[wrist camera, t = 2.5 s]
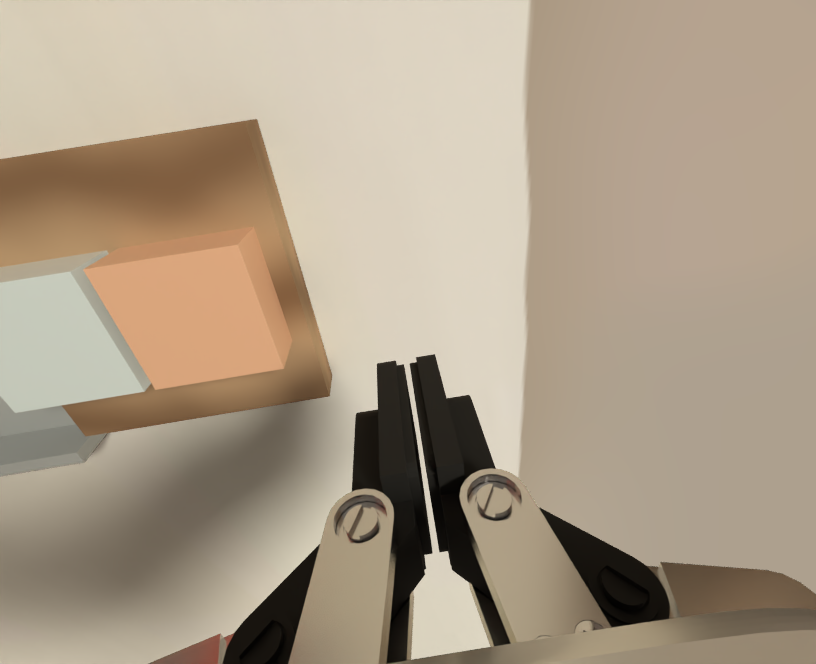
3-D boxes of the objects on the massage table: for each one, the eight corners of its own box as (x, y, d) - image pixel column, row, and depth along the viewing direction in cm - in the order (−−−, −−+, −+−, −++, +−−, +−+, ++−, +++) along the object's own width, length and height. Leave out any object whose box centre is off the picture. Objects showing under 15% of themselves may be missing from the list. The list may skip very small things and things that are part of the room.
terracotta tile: (118, 248, 17) (82, 269, 15) (253, 226, 17) (237, 244, 15) (177, 359, 20) (155, 390, 18) (292, 340, 20) (283, 368, 18)
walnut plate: (-68, 169, 17) (-117, 177, 15) (256, 119, 17) (244, 121, 15) (105, 412, 24) (85, 436, 22) (332, 375, 24) (329, 396, 22)
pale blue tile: (-31, 272, 17) (-87, 296, 15) (106, 250, 17) (69, 271, 15) (52, 379, 20) (14, 412, 18) (168, 360, 20) (144, 391, 18)
